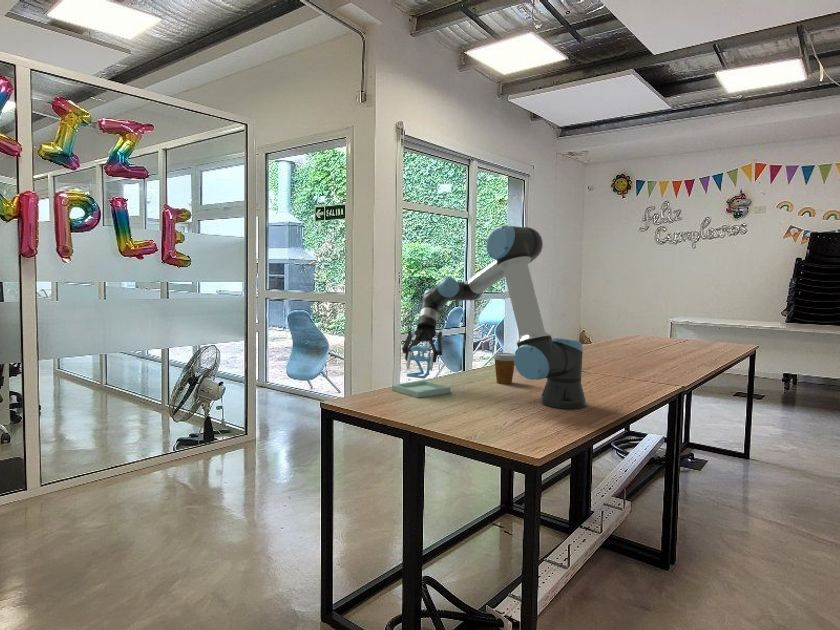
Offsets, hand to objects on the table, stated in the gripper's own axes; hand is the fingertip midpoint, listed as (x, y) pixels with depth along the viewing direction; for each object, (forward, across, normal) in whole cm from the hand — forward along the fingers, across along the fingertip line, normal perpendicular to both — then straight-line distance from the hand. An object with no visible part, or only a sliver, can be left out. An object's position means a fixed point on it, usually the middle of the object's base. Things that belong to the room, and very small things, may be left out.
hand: (419, 367), depth 209 cm
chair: (0, 0, -5) cm, 5 cm away
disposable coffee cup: (-13, -31, -27) cm, 43 cm away
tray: (+5, 0, -9) cm, 10 cm away
